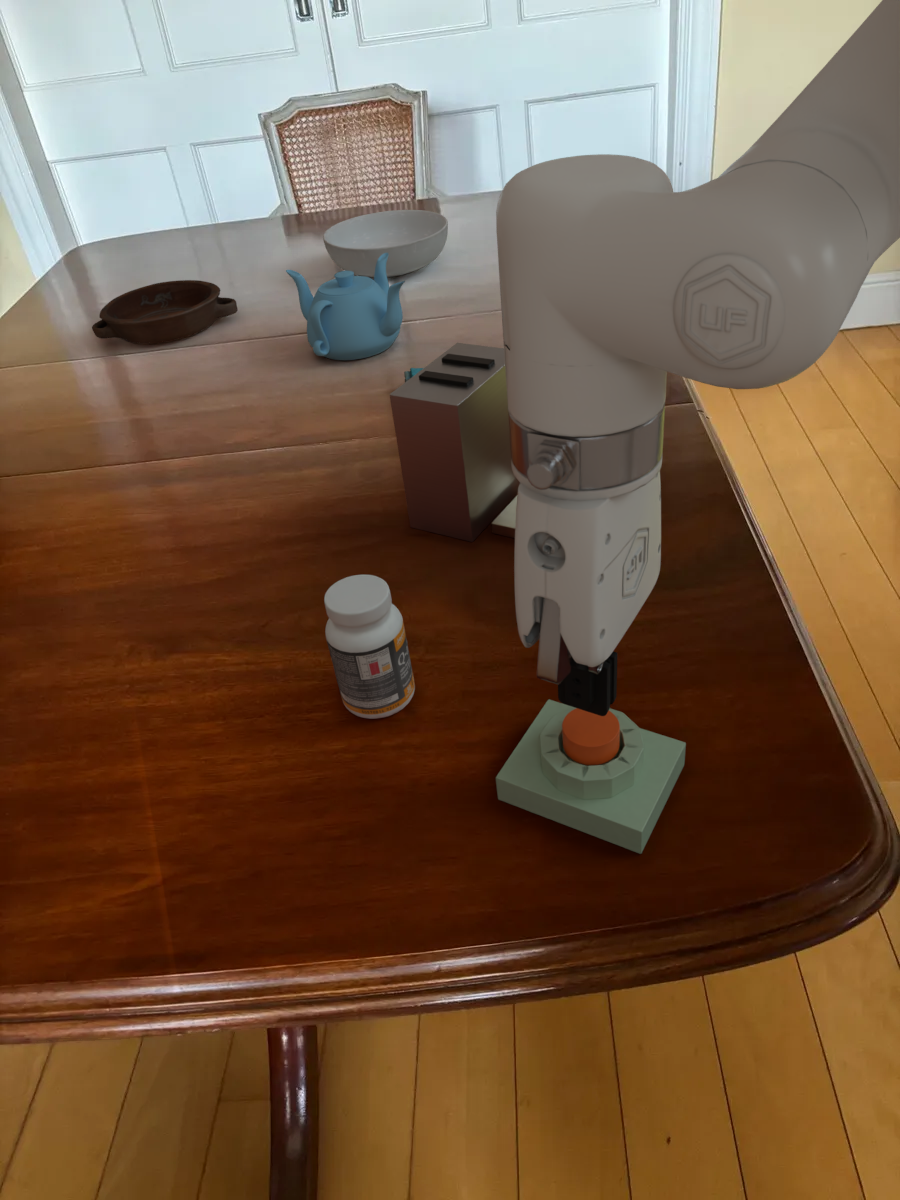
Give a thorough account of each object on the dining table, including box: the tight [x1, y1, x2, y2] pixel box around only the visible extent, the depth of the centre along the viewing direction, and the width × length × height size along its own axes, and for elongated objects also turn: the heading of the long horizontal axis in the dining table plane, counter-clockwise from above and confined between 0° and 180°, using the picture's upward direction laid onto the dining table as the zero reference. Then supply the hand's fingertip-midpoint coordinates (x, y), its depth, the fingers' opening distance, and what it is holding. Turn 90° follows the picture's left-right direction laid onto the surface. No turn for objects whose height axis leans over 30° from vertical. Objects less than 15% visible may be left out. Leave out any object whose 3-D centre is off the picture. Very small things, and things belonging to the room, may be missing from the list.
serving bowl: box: [322, 209, 449, 279], centre depth 150 cm, size 21×21×7 cm
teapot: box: [285, 253, 406, 361], centre depth 123 cm, size 15×15×10 cm
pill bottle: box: [323, 574, 416, 720], centre depth 66 cm, size 6×6×10 cm
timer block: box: [495, 698, 687, 855], centre depth 59 cm, size 10×8×4 cm
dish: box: [91, 279, 238, 345], centre depth 138 cm, size 17×22×5 cm
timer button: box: [562, 708, 620, 765], centre depth 57 cm, size 4×4×2 cm
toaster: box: [389, 342, 520, 543], centre depth 85 cm, size 7×12×14 cm, turn 150°
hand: (587, 701), depth 55 cm, fingers closed
